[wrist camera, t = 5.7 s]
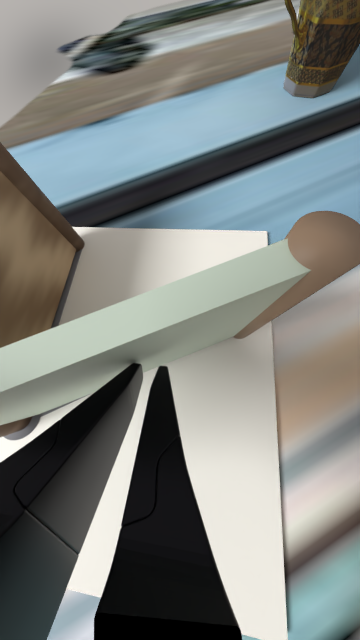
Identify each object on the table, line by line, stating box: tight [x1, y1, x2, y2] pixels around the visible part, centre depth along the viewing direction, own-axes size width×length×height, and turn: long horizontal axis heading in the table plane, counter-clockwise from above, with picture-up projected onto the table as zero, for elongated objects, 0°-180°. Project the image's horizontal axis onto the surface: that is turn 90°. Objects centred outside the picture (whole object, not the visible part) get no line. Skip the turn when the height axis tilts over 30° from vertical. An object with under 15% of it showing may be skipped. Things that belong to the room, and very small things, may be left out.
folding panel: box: [0, 211, 360, 425], centre depth 9 cm, size 18×2×10 cm, turn 111°
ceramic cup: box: [283, 0, 360, 98], centre depth 19 cm, size 13×10×10 cm
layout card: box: [0, 227, 288, 640], centre depth 14 cm, size 28×22×1 cm
